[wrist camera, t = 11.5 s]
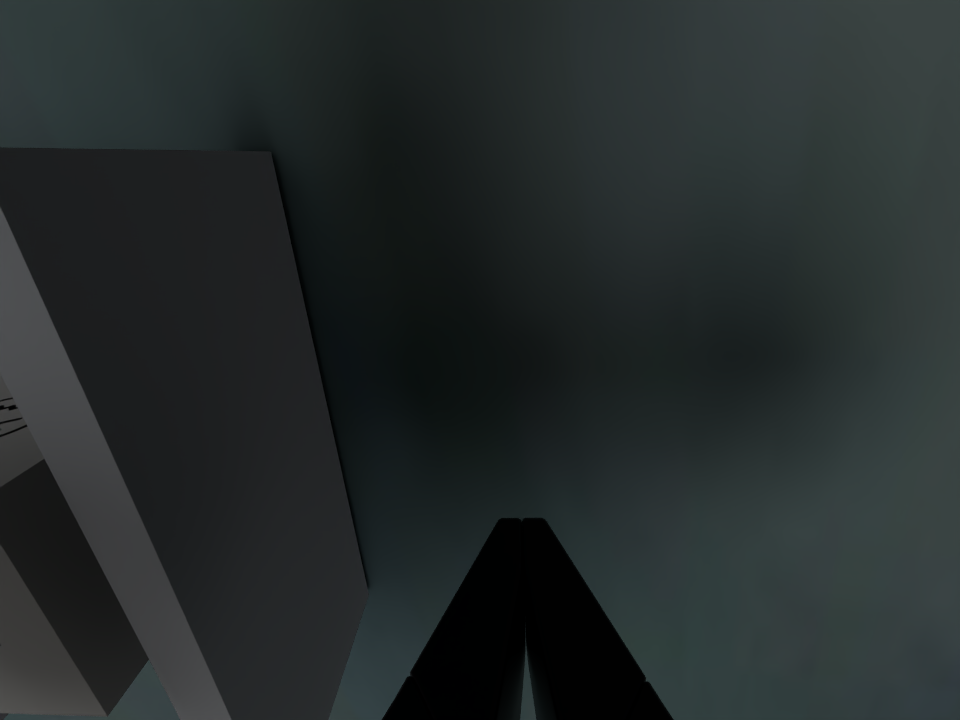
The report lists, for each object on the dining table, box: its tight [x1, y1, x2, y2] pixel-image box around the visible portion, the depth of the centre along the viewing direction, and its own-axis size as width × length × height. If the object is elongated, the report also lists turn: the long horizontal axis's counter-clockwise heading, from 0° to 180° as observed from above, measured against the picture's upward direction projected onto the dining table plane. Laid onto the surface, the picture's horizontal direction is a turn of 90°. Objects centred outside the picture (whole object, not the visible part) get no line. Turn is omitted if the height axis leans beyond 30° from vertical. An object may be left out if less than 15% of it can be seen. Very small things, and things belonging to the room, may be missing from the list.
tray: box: [0, 148, 369, 720], centre depth 11 cm, size 12×14×6 cm
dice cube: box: [0, 374, 149, 716], centre depth 10 cm, size 5×5×5 cm
